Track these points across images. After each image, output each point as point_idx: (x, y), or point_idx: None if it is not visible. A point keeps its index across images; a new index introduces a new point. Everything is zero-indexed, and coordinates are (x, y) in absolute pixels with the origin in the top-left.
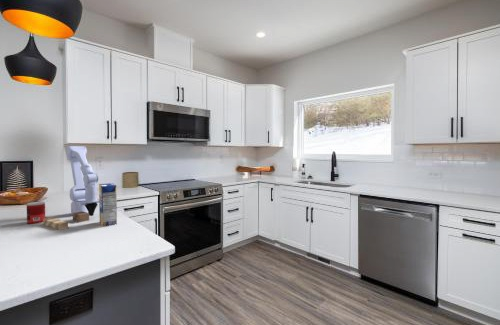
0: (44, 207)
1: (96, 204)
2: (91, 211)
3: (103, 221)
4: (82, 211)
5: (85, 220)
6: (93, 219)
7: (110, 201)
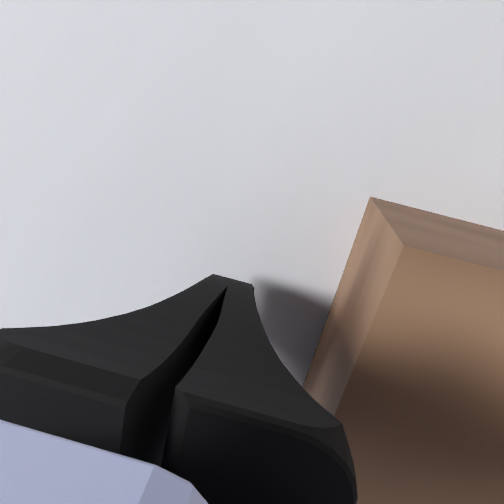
0: None
1: (20, 351)
2: (243, 317)
3: None
4: None
5: (439, 217)
6: (297, 169)
7: None
